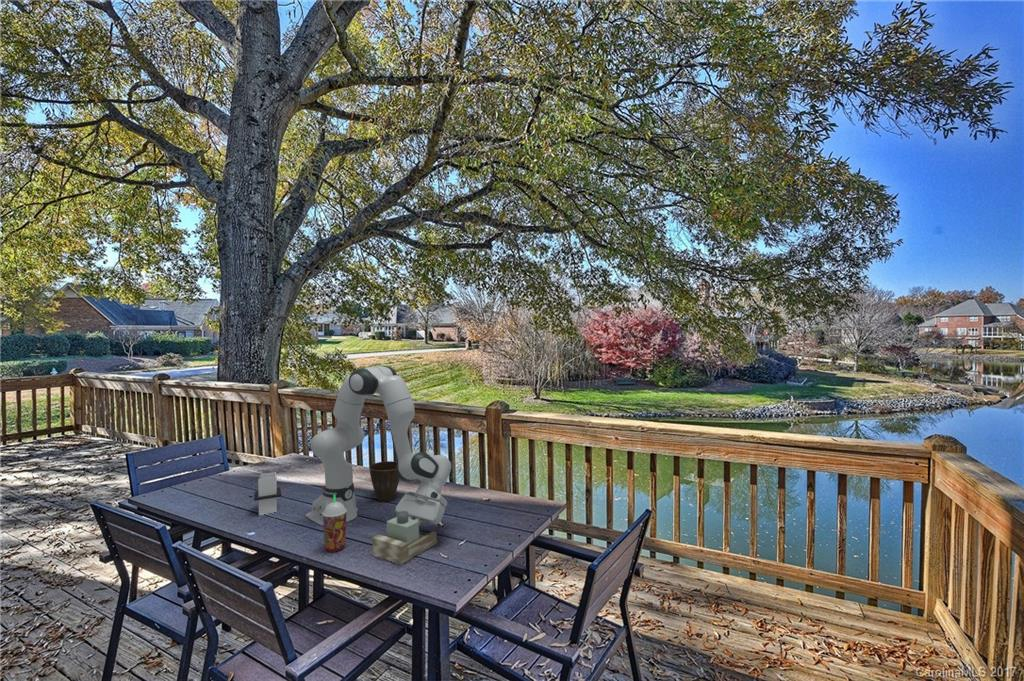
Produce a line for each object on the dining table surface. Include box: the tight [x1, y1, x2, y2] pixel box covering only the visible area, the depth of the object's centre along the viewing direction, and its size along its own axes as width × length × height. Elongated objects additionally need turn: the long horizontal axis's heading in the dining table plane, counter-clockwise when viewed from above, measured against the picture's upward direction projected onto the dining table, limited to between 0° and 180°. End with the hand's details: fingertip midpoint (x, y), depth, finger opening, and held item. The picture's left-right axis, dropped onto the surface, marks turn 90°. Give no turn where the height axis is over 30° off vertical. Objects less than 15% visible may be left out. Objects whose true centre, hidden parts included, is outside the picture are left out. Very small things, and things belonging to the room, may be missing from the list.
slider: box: [386, 511, 420, 545], centre depth 170 cm, size 10×6×12 cm, turn 60°
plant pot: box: [368, 460, 401, 503], centre depth 223 cm, size 15×15×16 cm
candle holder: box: [253, 471, 282, 516], centre depth 208 cm, size 25×24×16 cm
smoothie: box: [323, 495, 347, 553], centre depth 172 cm, size 8×8×20 cm
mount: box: [371, 530, 438, 566], centre depth 171 cm, size 14×19×6 cm
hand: (409, 529), depth 173 cm, fingers closed, pressing on slider
